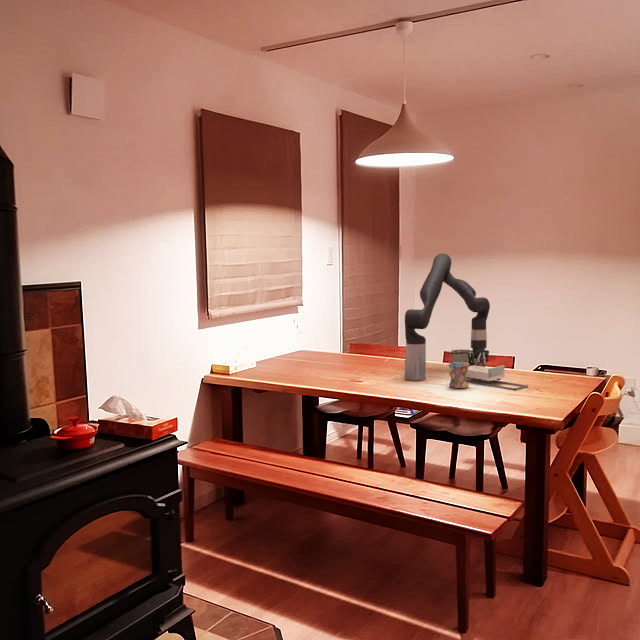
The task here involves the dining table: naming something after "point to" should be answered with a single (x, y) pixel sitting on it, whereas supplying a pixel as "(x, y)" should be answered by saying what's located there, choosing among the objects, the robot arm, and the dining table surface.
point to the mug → (458, 374)
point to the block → (481, 364)
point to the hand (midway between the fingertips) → (478, 372)
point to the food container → (460, 356)
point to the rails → (501, 386)
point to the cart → (486, 373)
